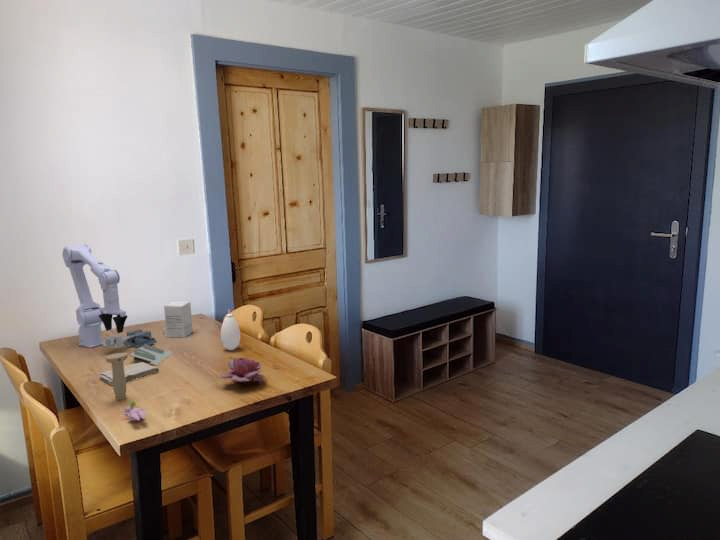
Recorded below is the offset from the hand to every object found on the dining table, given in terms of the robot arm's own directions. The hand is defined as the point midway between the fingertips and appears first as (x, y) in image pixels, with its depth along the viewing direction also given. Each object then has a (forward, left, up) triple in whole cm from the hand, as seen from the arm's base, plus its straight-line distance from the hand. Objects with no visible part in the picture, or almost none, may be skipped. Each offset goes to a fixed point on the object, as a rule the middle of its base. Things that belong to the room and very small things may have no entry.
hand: (114, 331), depth 226 cm
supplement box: (+5, +30, -9) cm, 31 cm away
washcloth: (+29, -15, -10) cm, 34 cm away
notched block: (0, 0, -6) cm, 6 cm away
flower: (+73, -1, -9) cm, 74 cm away
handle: (+45, -30, -9) cm, 55 cm away
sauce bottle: (+42, +25, -9) cm, 49 cm away
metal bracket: (+21, +1, -10) cm, 23 cm away
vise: (+2, +5, -9) cm, 10 cm away
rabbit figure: (+62, -38, -9) cm, 74 cm away
